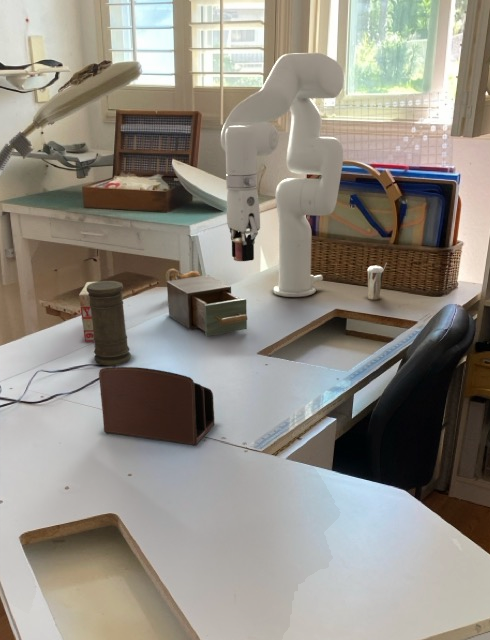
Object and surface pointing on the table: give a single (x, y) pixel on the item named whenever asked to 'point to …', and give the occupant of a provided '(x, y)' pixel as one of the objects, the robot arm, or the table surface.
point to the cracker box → (86, 314)
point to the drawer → (218, 312)
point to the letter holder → (155, 405)
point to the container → (108, 323)
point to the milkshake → (374, 281)
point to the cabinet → (181, 295)
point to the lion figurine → (180, 275)
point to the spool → (238, 248)
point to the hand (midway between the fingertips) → (242, 257)
